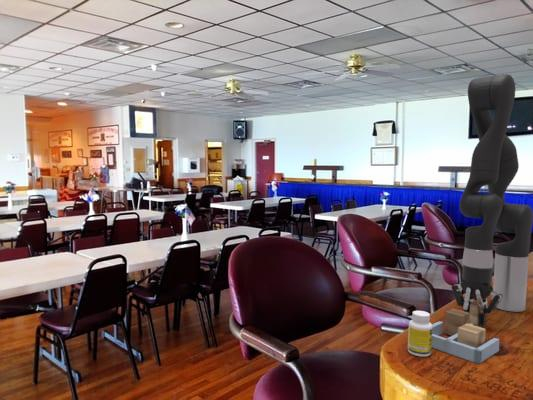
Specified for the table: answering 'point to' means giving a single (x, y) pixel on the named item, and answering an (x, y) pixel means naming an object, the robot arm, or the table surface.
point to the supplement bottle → (420, 334)
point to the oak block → (471, 335)
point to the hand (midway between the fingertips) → (474, 323)
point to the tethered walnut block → (461, 318)
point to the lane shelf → (462, 346)
